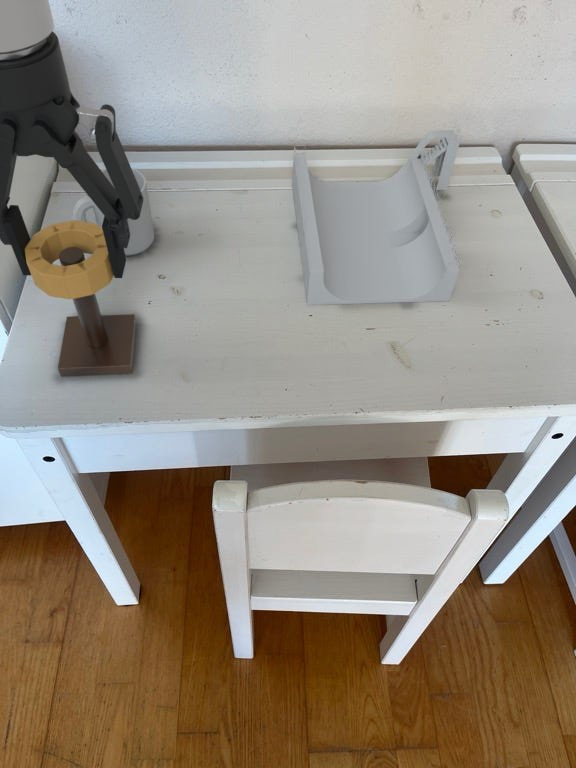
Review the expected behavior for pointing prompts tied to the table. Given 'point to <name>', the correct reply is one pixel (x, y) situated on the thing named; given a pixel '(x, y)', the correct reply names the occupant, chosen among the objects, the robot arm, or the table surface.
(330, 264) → the skate ramp
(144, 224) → the cup
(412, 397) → the table surface
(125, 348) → the stand
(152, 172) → the table surface
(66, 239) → the tape roll
